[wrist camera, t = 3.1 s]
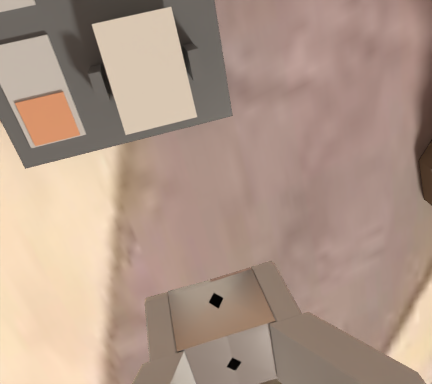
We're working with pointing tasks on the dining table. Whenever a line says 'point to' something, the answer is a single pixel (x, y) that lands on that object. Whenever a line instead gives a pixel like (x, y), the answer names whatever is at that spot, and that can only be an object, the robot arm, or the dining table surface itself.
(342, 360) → the robot arm
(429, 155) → the bird statue
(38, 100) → the switch unit
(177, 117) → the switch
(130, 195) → the dining table surface
